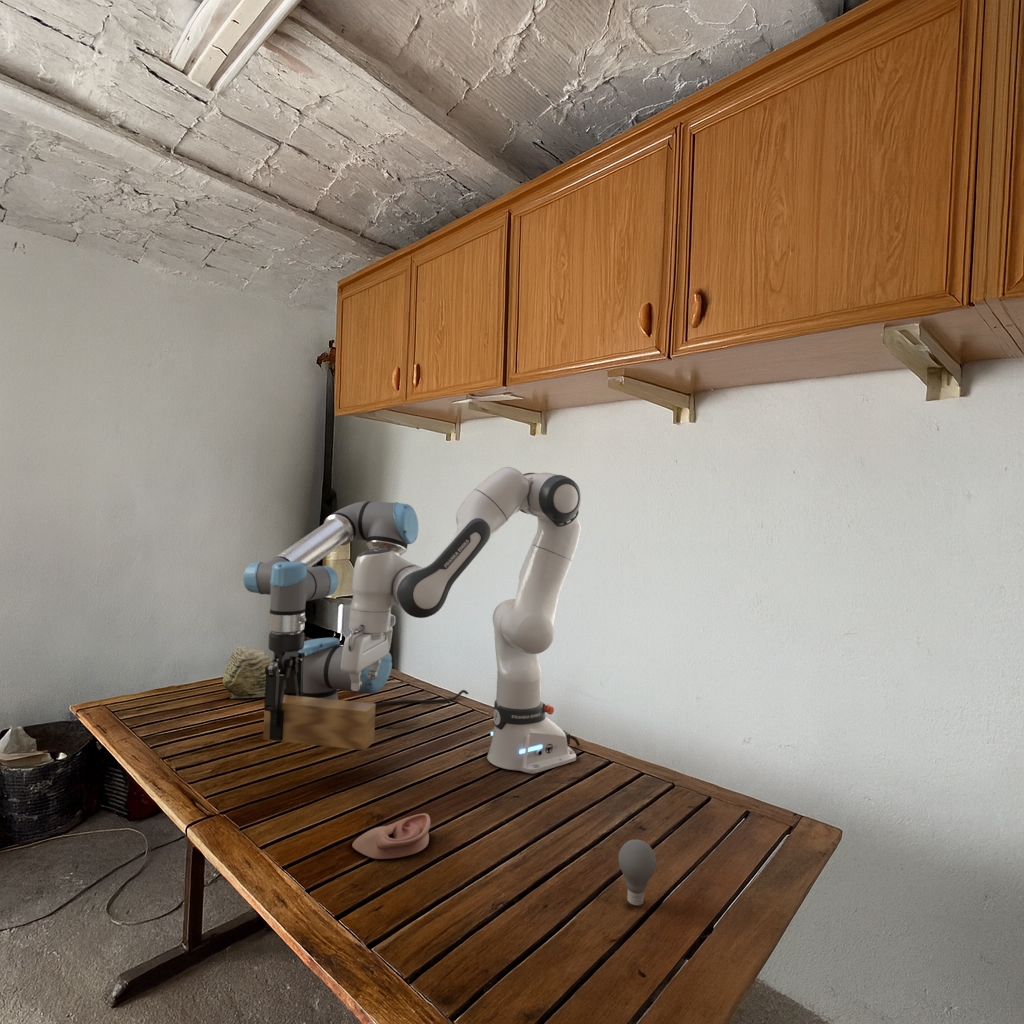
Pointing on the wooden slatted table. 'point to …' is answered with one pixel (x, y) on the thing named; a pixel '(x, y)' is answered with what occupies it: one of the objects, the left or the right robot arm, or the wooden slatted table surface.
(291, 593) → the left robot arm
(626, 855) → the light bulb
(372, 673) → the right robot arm
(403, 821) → the anatomical model
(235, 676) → the fossil
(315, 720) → the bar
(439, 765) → the wooden slatted table surface
